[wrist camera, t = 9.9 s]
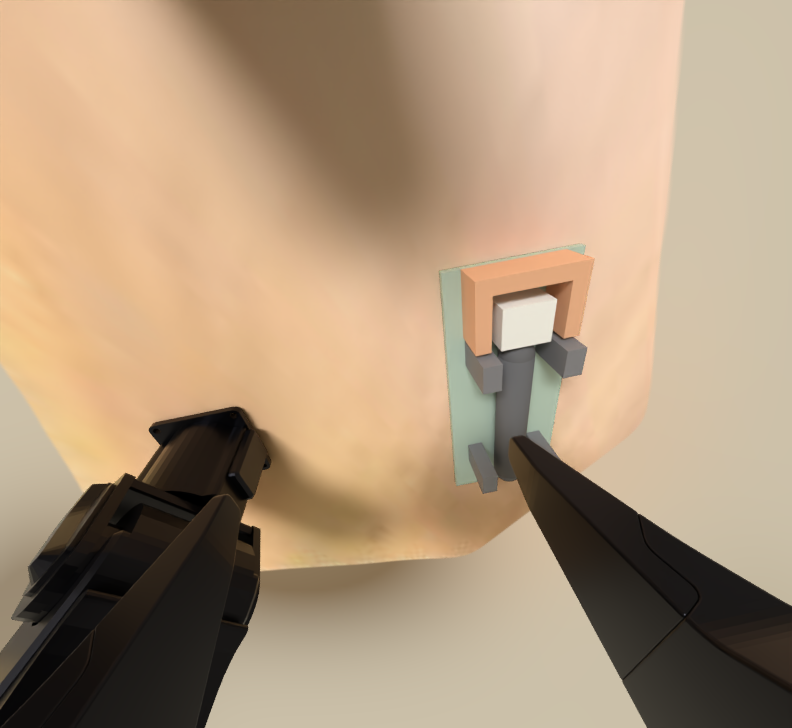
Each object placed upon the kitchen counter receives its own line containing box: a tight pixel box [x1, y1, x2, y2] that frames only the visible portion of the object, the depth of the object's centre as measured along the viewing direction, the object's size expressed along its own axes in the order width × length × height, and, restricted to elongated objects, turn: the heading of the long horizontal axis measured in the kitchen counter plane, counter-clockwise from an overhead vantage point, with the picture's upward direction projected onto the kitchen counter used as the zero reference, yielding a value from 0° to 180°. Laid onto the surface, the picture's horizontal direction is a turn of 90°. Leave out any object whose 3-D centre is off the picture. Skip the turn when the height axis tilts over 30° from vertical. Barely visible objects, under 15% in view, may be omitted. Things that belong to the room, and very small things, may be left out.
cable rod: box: [492, 287, 557, 481], centre depth 23 cm, size 3×17×2 cm, turn 9°
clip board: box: [439, 244, 595, 494], centre depth 23 cm, size 9×21×4 cm, turn 9°
